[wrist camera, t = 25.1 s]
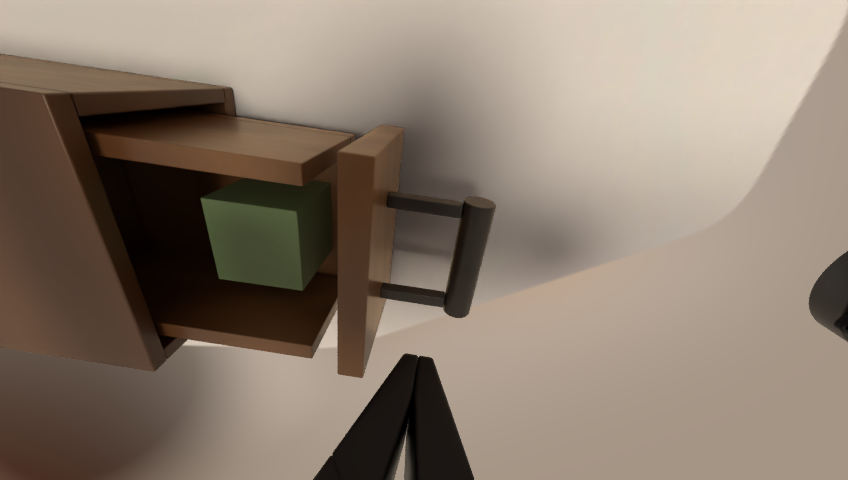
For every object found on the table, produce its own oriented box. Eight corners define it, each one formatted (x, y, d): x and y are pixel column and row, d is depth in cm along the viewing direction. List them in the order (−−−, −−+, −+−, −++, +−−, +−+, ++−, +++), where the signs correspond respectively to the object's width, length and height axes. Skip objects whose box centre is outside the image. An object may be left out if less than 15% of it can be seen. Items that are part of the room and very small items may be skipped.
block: (331, 182, 16) (296, 211, 12) (332, 249, 18) (303, 291, 14) (255, 171, 16) (199, 197, 12) (264, 240, 18) (218, 279, 14)
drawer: (497, 141, 15) (526, 179, 9) (460, 302, 20) (463, 394, 14) (103, 83, 16) (-111, 84, 10) (157, 255, 20) (36, 328, 14)
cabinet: (232, 87, 16) (43, 93, 9) (258, 270, 21) (154, 372, 14) (-75, 42, 16) (-523, 9, 9) (26, 235, 21) (-200, 317, 14)
